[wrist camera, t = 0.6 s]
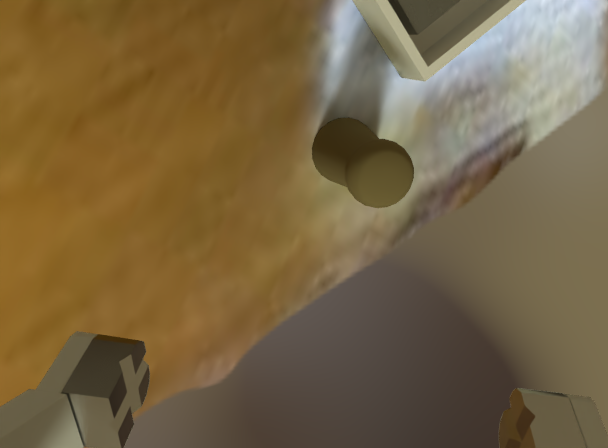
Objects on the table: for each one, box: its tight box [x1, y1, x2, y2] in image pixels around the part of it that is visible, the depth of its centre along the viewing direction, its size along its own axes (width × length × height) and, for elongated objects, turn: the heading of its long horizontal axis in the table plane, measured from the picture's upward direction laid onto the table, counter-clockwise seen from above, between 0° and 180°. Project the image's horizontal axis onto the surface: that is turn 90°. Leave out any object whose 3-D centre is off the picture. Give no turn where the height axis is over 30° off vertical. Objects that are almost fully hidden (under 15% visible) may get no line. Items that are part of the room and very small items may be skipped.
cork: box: [312, 118, 414, 208], centre depth 44 cm, size 6×6×11 cm
